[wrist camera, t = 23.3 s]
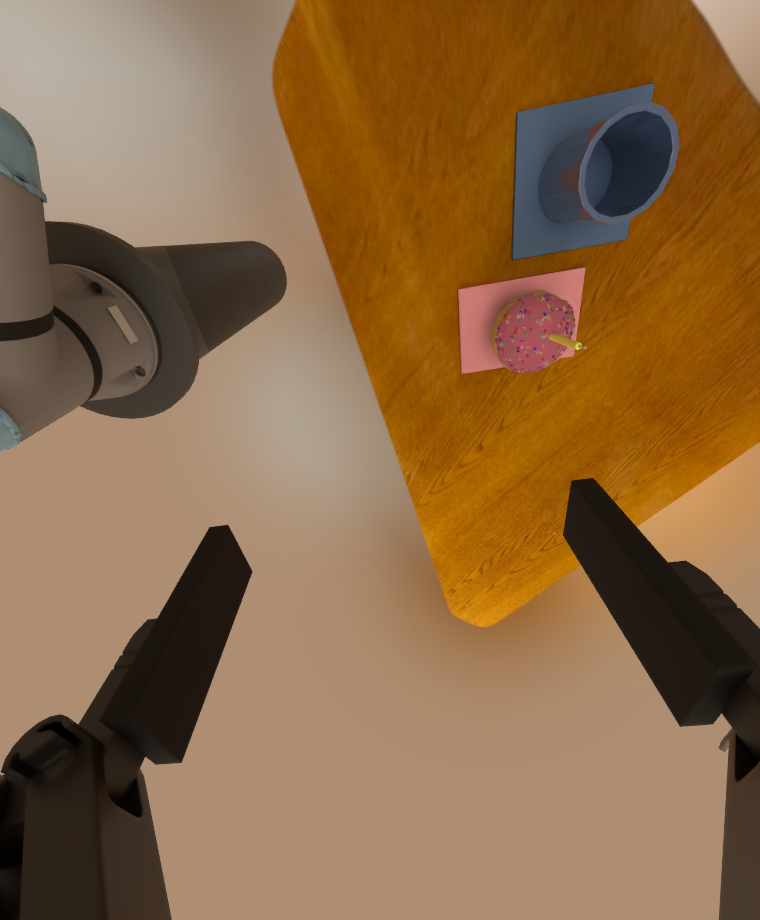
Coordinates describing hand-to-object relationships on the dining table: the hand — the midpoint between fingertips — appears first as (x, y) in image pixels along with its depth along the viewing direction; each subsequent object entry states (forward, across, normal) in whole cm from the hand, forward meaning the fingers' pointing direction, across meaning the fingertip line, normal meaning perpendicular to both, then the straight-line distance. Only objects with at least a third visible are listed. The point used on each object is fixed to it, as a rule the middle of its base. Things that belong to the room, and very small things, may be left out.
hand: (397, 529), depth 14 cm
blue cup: (+35, +21, +11) cm, 42 cm away
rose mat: (+35, +16, -2) cm, 38 cm away
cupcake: (+34, +16, -2) cm, 38 cm away
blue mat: (+35, +21, +11) cm, 42 cm away
